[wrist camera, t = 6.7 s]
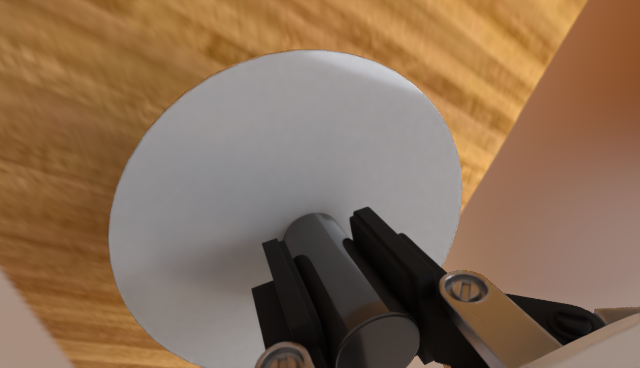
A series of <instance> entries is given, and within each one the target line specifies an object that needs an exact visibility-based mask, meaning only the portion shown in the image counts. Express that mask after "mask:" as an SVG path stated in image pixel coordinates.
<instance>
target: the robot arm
mask: <svg viewBox="0 0 640 368" xmlns="http://www.w3.org/2000/svg"><path fill="white" fill-rule="evenodd" d="M349 221H350V226H351V232H352V238H353V242H354V243H355V244H356V245H357V247H358V248H359V249H360V250H361V252H362V253H363V254H364V255H365V257H366V258H367V259H368V261H369V262H370V263H371V264H372V266H373V267H374V268H375V269H376V271H377V272H378V273H379V274H380V276H381V277H382V278H383V280H384V281H385V282H386V283H387V285H388V286H389V287H390V288H391V290H392V291H393V292H394V293H395V295H396V296H397V297H398V299H399V300H400V301H401V302H402V304H403V305H404V306H405V307H406V309H407V310H408V311H409V313H410V314H411V315H412V316H413V318H414V319H415V320H416V322H417V323H418V325H419V328H420V333H421V341H420V346H419V349H418V351H417V353H416V355H415V356H417V355H418V356H419V358H420V359H421V361H422V362H423V364H424V365H426V364H428V363H430V362H432V361H435V362H437V363H441V364H443V366H444V368H640V307H625V308H605V309H604V308H603V309H595V310H594V313H591V312H590V311H587V310H585V309H583V308H581V307H577V306H574V305H569V304H564V303H558V302H552V301H546V300H540V299H534V298H529V297H523V296H517V295H511V294H505V293H503V292H502V291H501V290H500V289H498V288H497V287H496V286H495V285H494V284H493V283H492V282H491V281H489V280H488V279H487V278H485V277H484V276H483V275H481V274H478V273H476V272H473V271H467V270H457V271H452V272H449V273H447V272H445V271H444V270H443V269H442V268H441V267H440V266H439V265H438V264H437V263H436V262H435V261H434V260H433V259H432V258H430V257H429V256H428V255H427V254H426V253H425V252H424V251H423V250H422V249H421V248H420V247H419V246H418V245H416V244H415V243H414V242H413V241H412V240H411V239H410V238H409V237H408V236H407V235H405V234H404V233H399V234H397V233H396V232H395V231H394V230H393V229H392V228H391V227H390V226H389V225H388V224H387V223H386V222H385V221H384V220H382V219H381V218H380V217H379V216H378V215H377V214H376V213H375V212H374V211H373V210H372V209H371V208H370V207H365V208H362V209H359V210H356V211H354V212H353V216H351V217H350V218H349ZM262 246H263V249H264V253H265V256H266V259H267V262H268V265H269V268H270V272H271V275H272V278H273V280H272V281H270V282H267V283H264V284H262V285H259V286H256V287H254V288H251V290H252V295H253V299H254V303H255V308H256V312H257V316H258V321H259V325H260V329H261V333H262V338H263V342H264V346H265V352H263V353H262V354H261V356H260V357H259V359H258V360H257V362H256V365H255V368H331V366H330V363H329V360H328V349H327V345H326V341H325V338H324V334H323V330H322V326H321V322H320V319H319V317H318V314H317V311H316V309H315V307H314V304H313V302H312V300H311V298H310V296H309V293H308V291H307V289H306V287H305V285H304V282H303V280H302V278H301V276H300V274H299V271H298V269H297V267H296V265H295V263H294V260H293V258H292V256H291V254H290V252H289V249H288V247H287V245H286V243H285V241H284V240H282V241H279V242H278V239H277V238H275V239H272V240H269V241H266V242H263V243H262Z"/></svg>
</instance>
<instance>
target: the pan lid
mask: <svg viewBox="0 0 640 368" xmlns="http://www.w3.org/2000/svg"><path fill="white" fill-rule="evenodd" d="M461 203H462V175H461V166H460V161H459V156H458V152H457V148H456V145H455V143H454V140H453V137H452V135H451V132H450V130H449V128H448V126H447V124H446V123H445V121H444V119H443V117H442V115H441V114H440V112H439V111H438V110H437V108H436V107H435V106H434V105H433V103H432V102H431V101H430V99H429V98H428V97H427V96H426V95H425V94H424V93H423V92H422V91H421V90H420V89H419V88H418V87H417V86H415V85H414V84H413V83H412V82H411V81H409V80H408V79H406V78H405V77H403V76H402V75H400V74H399V73H398V72H396V71H395V70H392V69H390V68H388V67H386V66H384V65H382V64H380V63H378V62H376V61H374V60H370V59H367V58H364V57H360V56H357V55H354V54H350V53H344V52H336V51H329V50H321V49H308V50H288V51H281V52H275V53H268V54H264V55H260V56H257V57H254V58H251V59H247V60H244V61H241V62H238V63H235V64H233V65H231V66H229V67H227V68H225V69H223V70H220V71H218V72H216V73H214V74H212V75H210V76H209V77H207V78H205V79H204V80H202V81H201V82H199V83H198V84H196V85H195V86H193V87H192V88H190V89H189V90H187V91H186V92H184V93H183V94H182V95H181V96H180V97H179V98H178V99H176V100H175V101H174V102H173V103H172V104H171V105H170V106H168V107H167V108H166V109H165V110H164V111H163V112H162V113H161V114H160V116H159V117H158V118H157V119H156V120H155V121H154V123H153V124H152V125H151V126H150V127H149V128H148V130H147V131H146V132H145V133H144V135H143V136H142V138H141V140H140V141H139V143H138V144H137V146H136V148H135V149H134V151H133V152H132V154H131V156H130V157H129V159H128V161H127V163H126V166H125V168H124V170H123V173H122V175H121V177H120V180H119V182H118V184H117V187H116V191H115V195H114V199H113V203H112V207H111V211H110V218H109V231H108V245H109V256H110V264H111V268H112V272H113V275H114V279H115V283H116V286H117V288H118V290H119V292H120V294H121V297H122V299H123V301H124V303H125V305H126V307H127V308H128V310H129V311H130V313H131V314H132V316H133V317H134V318H135V320H136V321H137V323H138V324H139V325H140V326H141V327H142V328H143V329H144V330H145V331H146V332H147V333H148V334H149V336H150V337H151V338H152V339H153V340H155V341H156V342H157V343H159V344H160V345H161V346H163V347H164V348H165V349H167V350H168V351H169V352H171V353H173V354H175V355H177V356H178V357H180V358H182V359H184V360H186V361H187V362H190V363H193V364H195V365H198V366H200V367H203V368H255V365H256V362H257V360H258V359H259V357H260V356H261V354H262V353H263V352H265V346H264V342H263V338H262V333H261V329H260V325H259V321H258V316H257V312H256V308H255V303H254V299H253V295H252V290H251V288H254V287H256V286H259V285H262V284H264V283H267V282H270V281H272V280H273V278H272V275H271V272H270V268H269V265H268V262H267V259H266V256H265V253H264V249H263V246H262V243H263V242H266V241H269V240H272V239H275V238H277V239H278V242H279V241H282V240H284V241H285V243H286V245H287V247H288V249H289V252H290V254H291V256H292V258H293V260H294V263H295V265H296V267H297V269H298V271H299V274H300V276H301V278H302V280H303V282H304V285H305V287H306V289H307V291H308V293H309V296H310V298H311V300H312V302H313V304H314V307H315V309H316V311H317V314H318V317H319V319H320V322H321V326H322V330H323V334H324V338H325V341H326V345H327V349H328V360H329V363H330V366H331V368H406V367H407V366H408V365H409V364H410V363H411V361H412V360H413V358H414V357H415V355H416V353H417V351H418V349H419V346H420V341H421V333H420V328H419V325H418V323H417V322H416V320H415V319H414V318H413V316H412V315H411V314H410V313H409V311H408V310H407V309H406V307H405V306H404V305H403V304H402V302H401V301H400V300H399V299H398V297H397V296H396V295H395V293H394V292H393V291H392V290H391V288H390V287H389V286H388V285H387V283H386V282H385V281H384V280H383V278H382V277H381V276H380V274H379V273H378V272H377V271H376V269H375V268H374V267H373V266H372V264H371V263H370V262H369V261H368V259H367V258H366V257H365V255H364V254H363V253H362V252H361V250H360V249H359V248H358V247H357V245H356V244H355V243H354V242H353V238H352V232H351V226H350V221H349V218H350V217H351V216H353V212H354V211H356V210H359V209H362V208H365V207H370V208H371V209H372V210H373V211H374V212H375V213H376V214H377V215H378V216H379V217H380V218H381V219H382V220H384V221H385V222H386V223H387V224H388V225H389V226H390V227H391V228H392V229H393V230H394V231H395V232H396V233H397V234H399V233H404V234H405V235H407V236H408V237H409V238H410V239H411V240H412V241H413V242H414V243H415V244H416V245H418V246H419V247H420V248H421V249H422V250H423V251H424V252H425V253H426V254H427V255H428V256H429V257H430V258H432V259H433V260H434V261H435V262H436V263H437V264H438V265H439V266H440V267H442V265H443V263H444V261H445V259H446V257H447V255H448V252H449V250H450V247H451V245H452V242H453V240H454V236H455V233H456V229H457V226H458V222H459V216H460V210H461Z"/></svg>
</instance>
